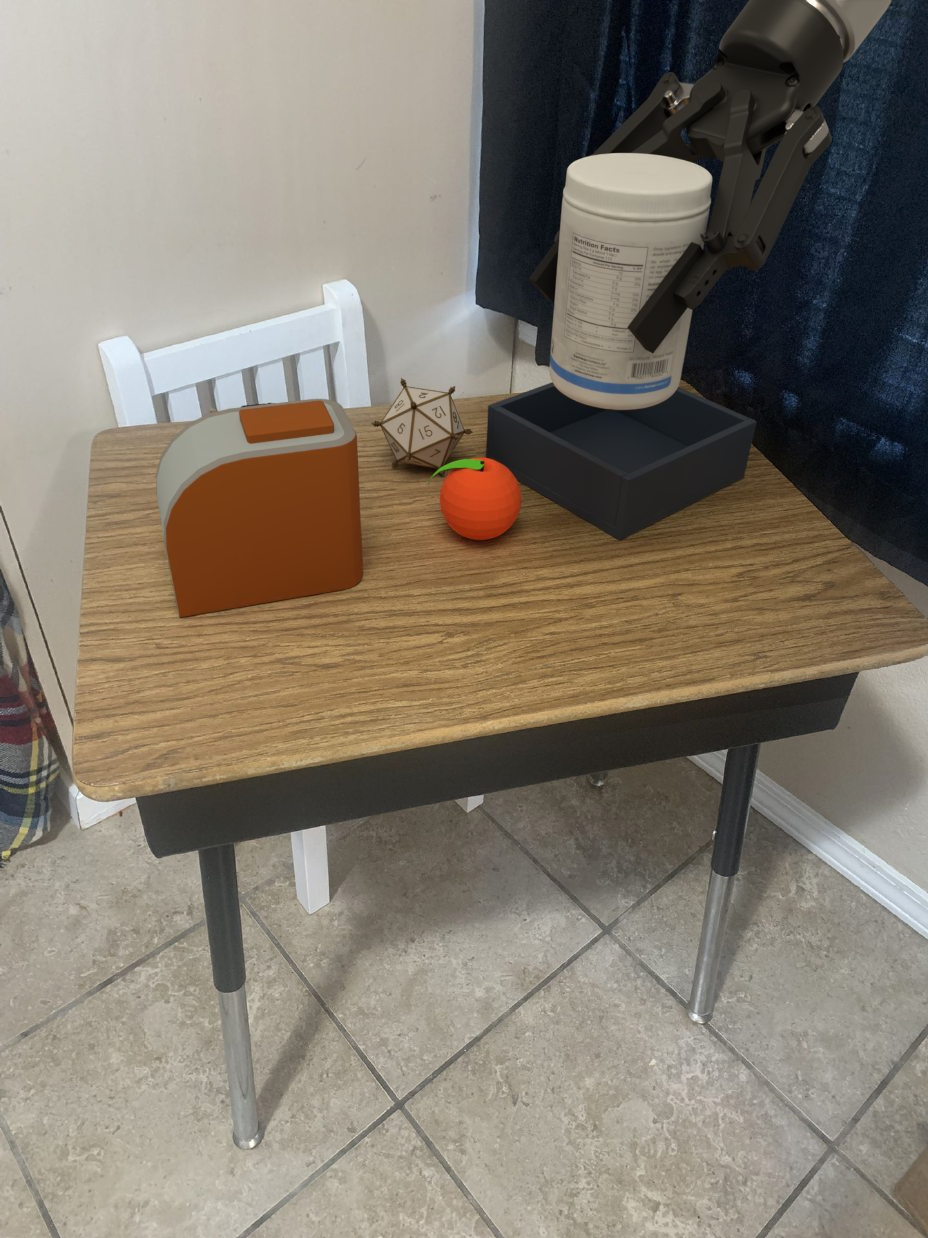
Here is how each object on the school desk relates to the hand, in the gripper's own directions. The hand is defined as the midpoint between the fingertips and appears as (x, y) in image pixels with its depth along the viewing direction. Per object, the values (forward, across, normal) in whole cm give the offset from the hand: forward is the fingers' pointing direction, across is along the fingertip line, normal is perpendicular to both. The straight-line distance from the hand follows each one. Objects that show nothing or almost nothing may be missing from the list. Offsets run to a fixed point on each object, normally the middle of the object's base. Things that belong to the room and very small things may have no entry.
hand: (588, 314), depth 66 cm
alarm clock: (+30, +14, -2) cm, 33 cm away
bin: (+5, +11, -27) cm, 30 cm away
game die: (+15, +22, -16) cm, 31 cm away
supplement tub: (+2, 0, -6) cm, 7 cm away
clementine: (+17, +10, -14) cm, 24 cm away
